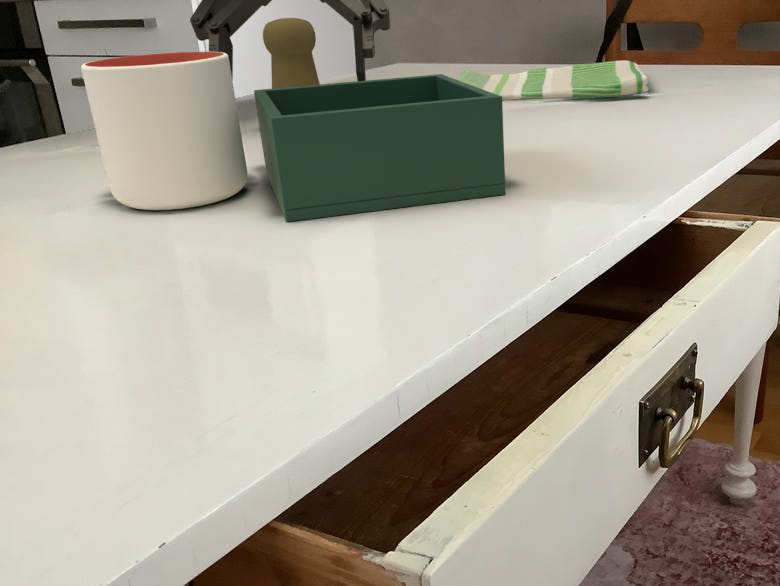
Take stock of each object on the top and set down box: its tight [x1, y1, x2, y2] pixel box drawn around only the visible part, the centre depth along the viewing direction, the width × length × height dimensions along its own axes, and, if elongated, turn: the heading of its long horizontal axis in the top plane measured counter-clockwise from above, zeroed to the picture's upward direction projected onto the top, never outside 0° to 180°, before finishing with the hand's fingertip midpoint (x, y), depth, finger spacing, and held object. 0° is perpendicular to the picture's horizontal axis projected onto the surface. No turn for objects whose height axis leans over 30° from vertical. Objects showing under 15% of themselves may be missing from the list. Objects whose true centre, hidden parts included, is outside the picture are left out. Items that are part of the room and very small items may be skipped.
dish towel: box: [458, 59, 650, 101], centre depth 105 cm, size 18×23×3 cm
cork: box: [262, 17, 321, 89], centre depth 87 cm, size 6×6×11 cm
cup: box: [80, 51, 248, 211], centre depth 62 cm, size 10×10×10 cm
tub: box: [253, 73, 506, 223], centre depth 64 cm, size 16×16×7 cm
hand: (293, 85), depth 85 cm, fingers open, 13 cm apart
